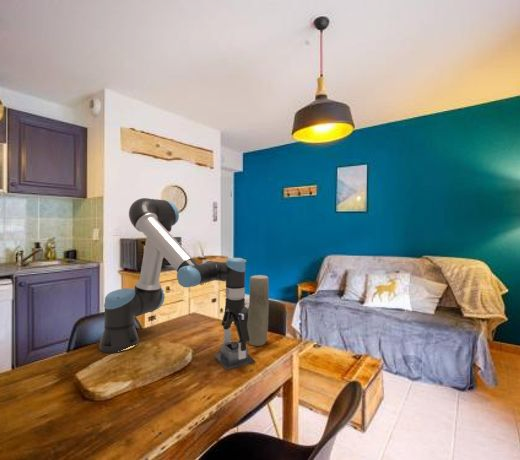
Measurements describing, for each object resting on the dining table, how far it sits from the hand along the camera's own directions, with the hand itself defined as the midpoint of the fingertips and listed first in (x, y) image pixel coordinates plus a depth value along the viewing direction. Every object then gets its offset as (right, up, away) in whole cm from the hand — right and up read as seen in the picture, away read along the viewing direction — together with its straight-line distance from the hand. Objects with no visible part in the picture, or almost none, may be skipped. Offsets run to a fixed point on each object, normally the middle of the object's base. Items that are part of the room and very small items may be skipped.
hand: (234, 351), depth 111 cm
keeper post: (0, -3, 0) cm, 3 cm away
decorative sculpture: (+7, -3, +17) cm, 19 cm away
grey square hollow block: (0, -2, 0) cm, 2 cm away
